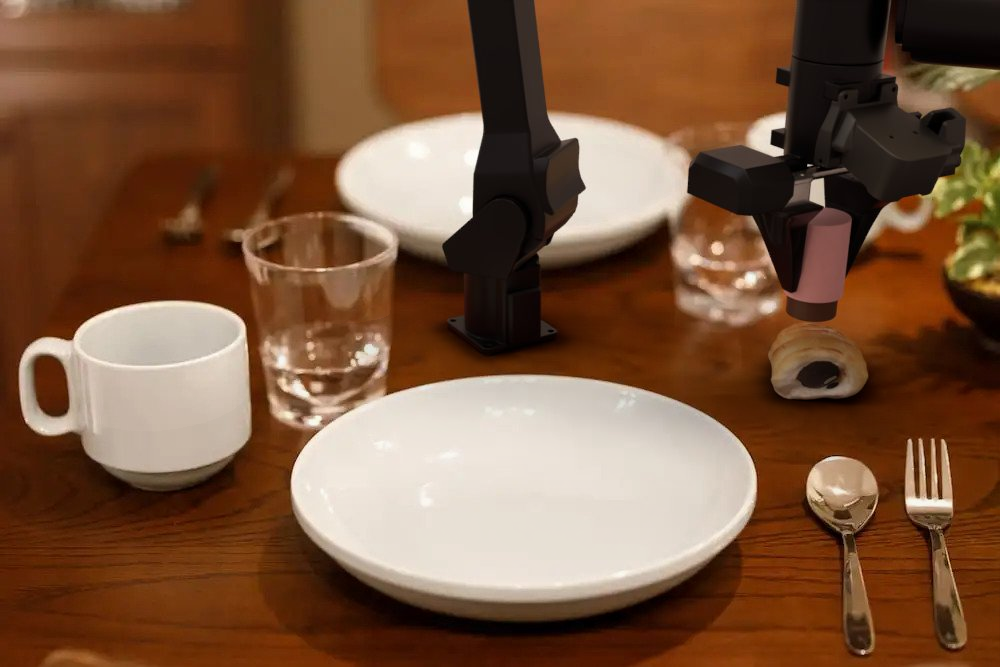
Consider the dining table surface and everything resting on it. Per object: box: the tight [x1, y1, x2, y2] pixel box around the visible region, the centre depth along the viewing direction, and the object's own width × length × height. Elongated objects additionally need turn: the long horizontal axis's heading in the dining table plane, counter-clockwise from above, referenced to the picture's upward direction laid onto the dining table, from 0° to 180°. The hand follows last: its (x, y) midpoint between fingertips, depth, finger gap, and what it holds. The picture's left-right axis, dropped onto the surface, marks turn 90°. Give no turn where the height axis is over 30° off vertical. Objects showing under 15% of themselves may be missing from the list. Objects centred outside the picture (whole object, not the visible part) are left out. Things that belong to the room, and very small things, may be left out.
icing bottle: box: [782, 206, 852, 323], centre depth 88 cm, size 4×4×7 cm
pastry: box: [767, 321, 869, 401], centre depth 93 cm, size 9×7×4 cm
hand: (813, 285), depth 89 cm, fingers closed on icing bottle, 4 cm apart
